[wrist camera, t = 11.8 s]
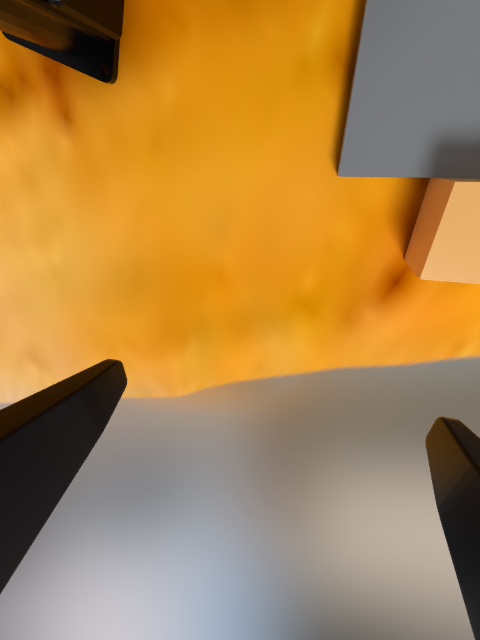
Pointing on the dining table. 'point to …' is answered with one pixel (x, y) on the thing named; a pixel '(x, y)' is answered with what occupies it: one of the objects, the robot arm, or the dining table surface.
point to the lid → (422, 123)
